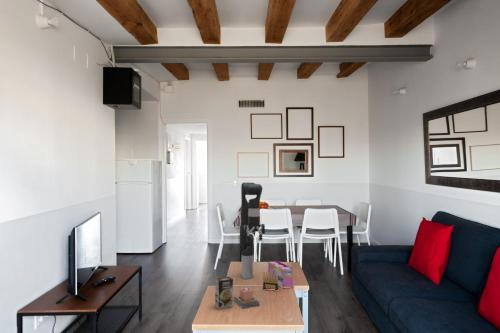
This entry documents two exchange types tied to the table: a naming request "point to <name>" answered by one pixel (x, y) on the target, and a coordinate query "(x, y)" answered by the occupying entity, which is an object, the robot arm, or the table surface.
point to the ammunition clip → (270, 281)
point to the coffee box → (224, 292)
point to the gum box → (281, 273)
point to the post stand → (246, 303)
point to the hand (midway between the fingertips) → (254, 241)
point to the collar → (246, 294)
